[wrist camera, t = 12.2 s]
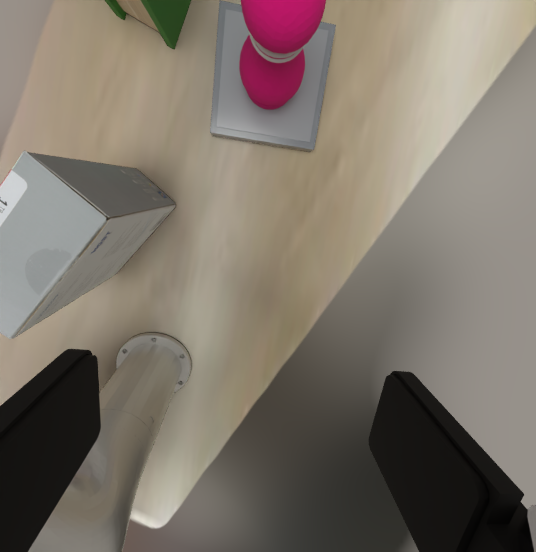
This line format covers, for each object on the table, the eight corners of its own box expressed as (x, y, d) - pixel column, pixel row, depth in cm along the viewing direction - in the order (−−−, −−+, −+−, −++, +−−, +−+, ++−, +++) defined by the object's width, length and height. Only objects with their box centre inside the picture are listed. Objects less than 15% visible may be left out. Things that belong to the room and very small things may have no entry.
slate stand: (310, 152, 40) (314, 149, 37) (212, 136, 38) (210, 132, 36) (330, 35, 36) (336, 24, 33) (221, 13, 34) (219, -1, 32)
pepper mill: (308, 68, 34) (378, -80, 15) (280, 125, 36) (313, 55, 17) (257, 34, 33) (264, -177, 14) (230, 94, 35) (205, -19, 16)
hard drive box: (135, 166, 39) (25, 144, 20) (178, 204, 41) (114, 218, 22) (73, 243, 42) (-75, 289, 23) (115, 276, 44) (11, 344, 25)
